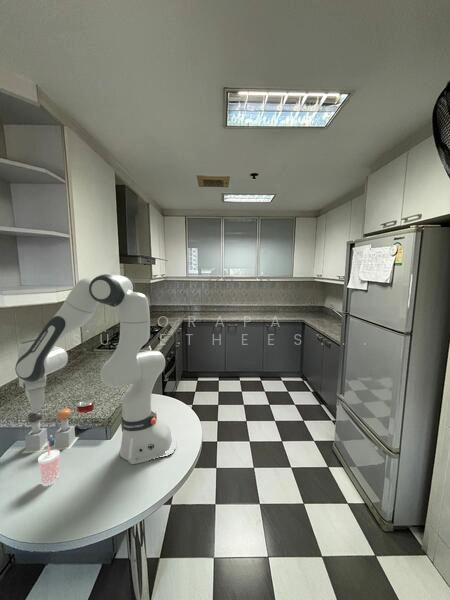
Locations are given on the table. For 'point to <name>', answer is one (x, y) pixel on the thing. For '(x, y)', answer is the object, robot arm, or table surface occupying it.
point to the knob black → (35, 421)
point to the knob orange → (64, 418)
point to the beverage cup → (49, 466)
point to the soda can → (85, 406)
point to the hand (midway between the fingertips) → (34, 411)
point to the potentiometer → (51, 441)
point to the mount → (40, 440)
